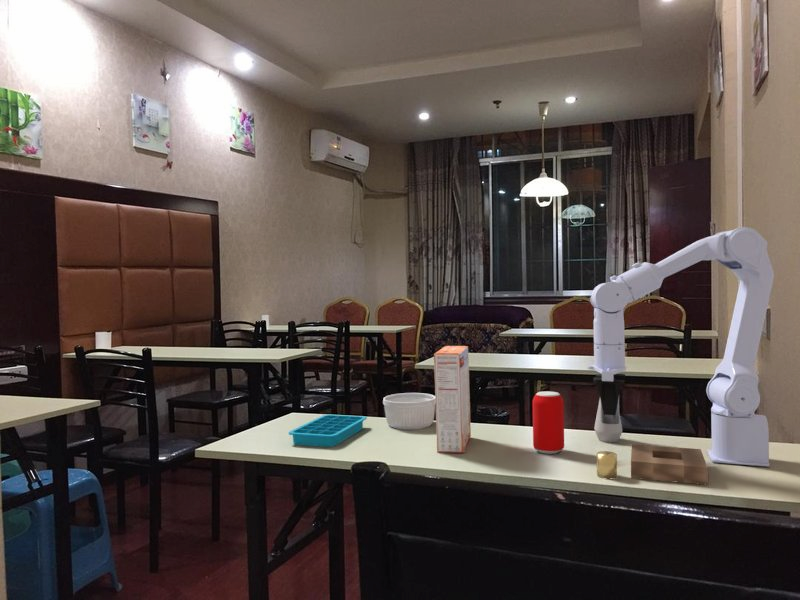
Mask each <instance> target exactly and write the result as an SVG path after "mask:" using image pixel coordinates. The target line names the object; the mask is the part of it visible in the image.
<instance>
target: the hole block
mask: <svg viewBox="0 0 800 600" xmlns="http://www.w3.org/2000/svg"><path fill="white" fill-rule="evenodd" d="M630 451H631V452H630V453H631V456H630V478H631V479H635V478H642V479H641V480H646V479H653V480H652V481H656V480H661V481H660V482H667V481H677V482H676V483H678V482H685V483H684V484H688V483H695V484H694V485H699V484H706V485H705V486H708V484H709V483H708V482H709V481H708V479H709V478H708V475H709V473H708V466H707V462H706V460H705V457H704V455H703V452H702V449H700V448H693V447H692V448H691V447H690V448H689V447H688V448H687V447H678V446H675V447H674V446H666V445H665V446H661V445H652V444H651V445H650V444H636V443H631V449H630ZM697 483H698V484H697Z"/></svg>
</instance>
